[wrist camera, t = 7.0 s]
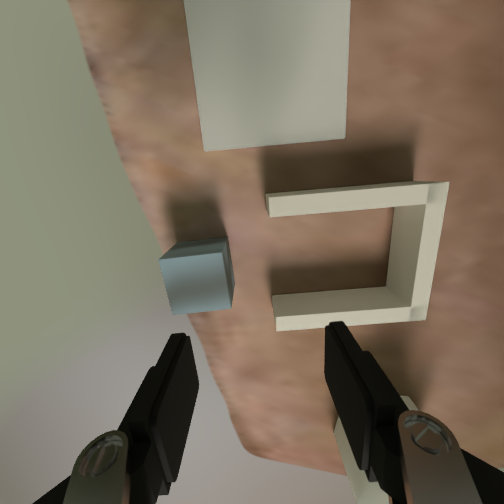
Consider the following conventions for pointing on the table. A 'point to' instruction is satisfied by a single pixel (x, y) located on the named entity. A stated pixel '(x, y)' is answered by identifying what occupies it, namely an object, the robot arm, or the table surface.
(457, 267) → the table surface
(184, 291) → the block
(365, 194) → the bay
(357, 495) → the corner bracket
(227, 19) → the mat
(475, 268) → the table surface
